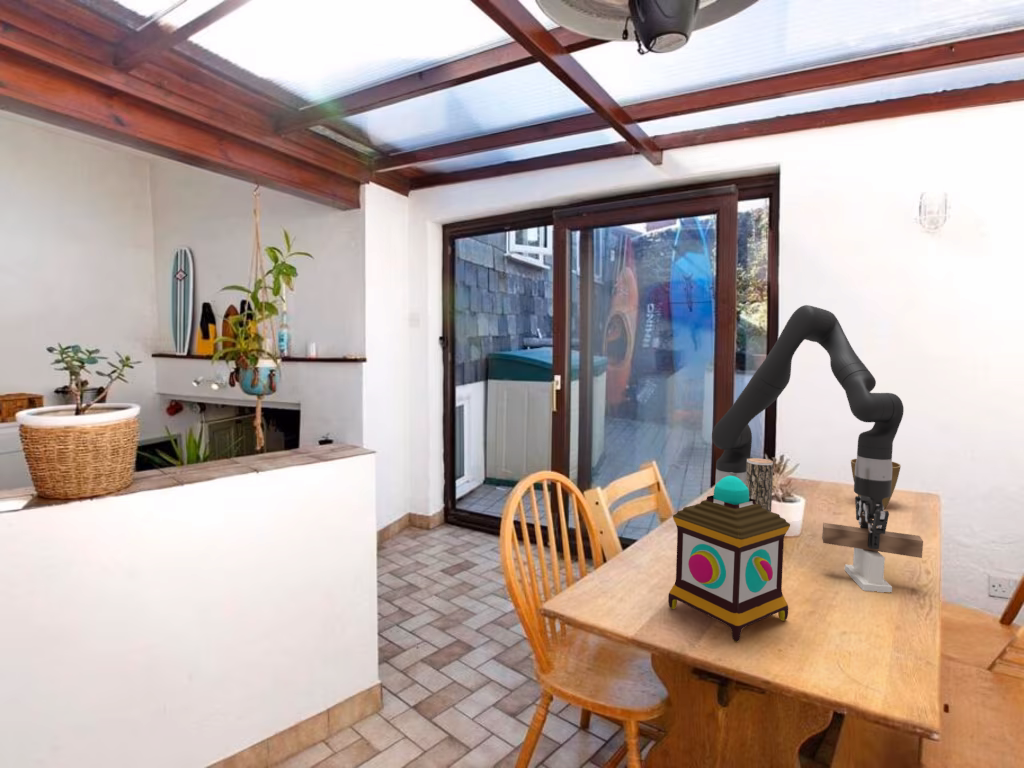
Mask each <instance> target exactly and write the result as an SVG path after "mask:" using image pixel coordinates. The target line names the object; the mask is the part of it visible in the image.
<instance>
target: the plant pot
mask: <svg viewBox="0 0 1024 768" xmlns="http://www.w3.org/2000/svg"><path fill="white" fill-rule="evenodd" d="M856 459H857V458H853V459H851V460H850V465H851V466H850V467H851V474H852V480H853V481H854V478H855V464H856ZM901 467H902V465H901V463H898V462H895V461H892V485H891V496H890V497H889V498H884V499H883V500H882V501H883V506H884V510H885V509H886V508H887V506H888V504H889V502H890V500H891V498H892V496H893V495H894V492H895V489H896V485H897V482H898V480H899V475H900V471H901ZM857 496H861V495H858V494H857Z"/></svg>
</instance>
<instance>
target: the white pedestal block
mask: <svg viewBox="0 0 1024 768" xmlns="http://www.w3.org/2000/svg"><path fill="white" fill-rule="evenodd" d="M885 558H886V557H885V556H883V555H882V554H881V552H879V551H872V550H866V549H859V548H853V559H852V564H846V563H845V564H844V572H846V573H847V575H849V577H850V578H851V579H852V581H854V582H855V584H856V585H857V586H858V587H859V588H860V589H861V590H862V591H863V590H864V591H865V592H874V591H877V593H884V592H892V593H893V586H892V585H891V584H889V582H888V581H887V580H886V579H885V576H884V575H885V574H884V573H885V560H886V559H885Z"/></svg>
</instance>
